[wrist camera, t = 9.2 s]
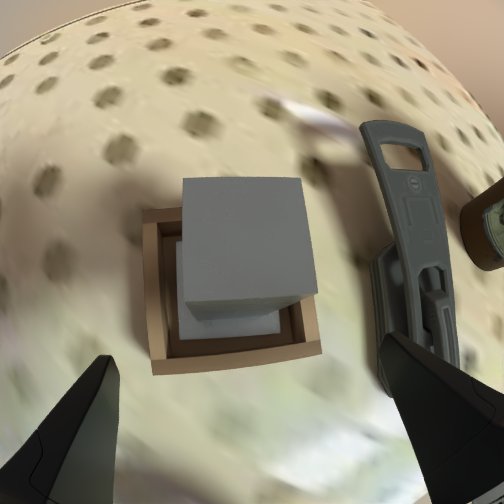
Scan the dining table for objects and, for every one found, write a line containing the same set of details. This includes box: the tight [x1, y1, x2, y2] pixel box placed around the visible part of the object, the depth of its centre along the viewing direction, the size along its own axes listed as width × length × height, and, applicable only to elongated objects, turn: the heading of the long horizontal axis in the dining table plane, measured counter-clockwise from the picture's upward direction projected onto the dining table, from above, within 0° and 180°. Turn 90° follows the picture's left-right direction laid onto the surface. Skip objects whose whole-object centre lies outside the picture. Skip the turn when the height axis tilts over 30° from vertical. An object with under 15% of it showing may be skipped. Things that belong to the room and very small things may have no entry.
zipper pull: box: [359, 120, 460, 398], centre depth 22 cm, size 9×7×25 cm
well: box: [143, 207, 322, 375], centre depth 20 cm, size 11×11×4 cm
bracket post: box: [176, 177, 318, 340], centre depth 16 cm, size 7×7×12 cm
